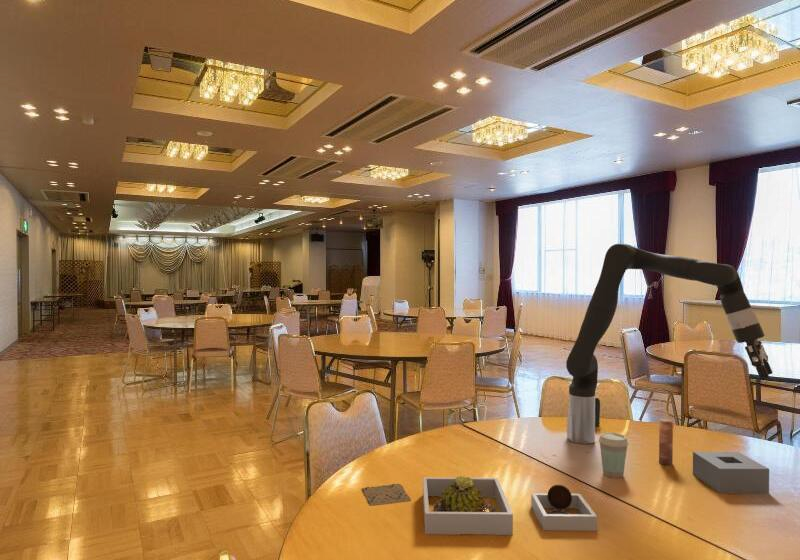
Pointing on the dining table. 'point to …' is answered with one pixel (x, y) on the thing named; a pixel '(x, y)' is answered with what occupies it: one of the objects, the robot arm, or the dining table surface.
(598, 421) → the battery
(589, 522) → the tray
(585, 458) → the dining table surface
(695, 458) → the hole block
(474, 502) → the cactus
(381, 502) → the speckled stone tile
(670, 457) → the pin
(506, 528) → the cactus tray
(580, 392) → the robot arm
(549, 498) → the dark brown rounded piece
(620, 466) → the coffee cup
